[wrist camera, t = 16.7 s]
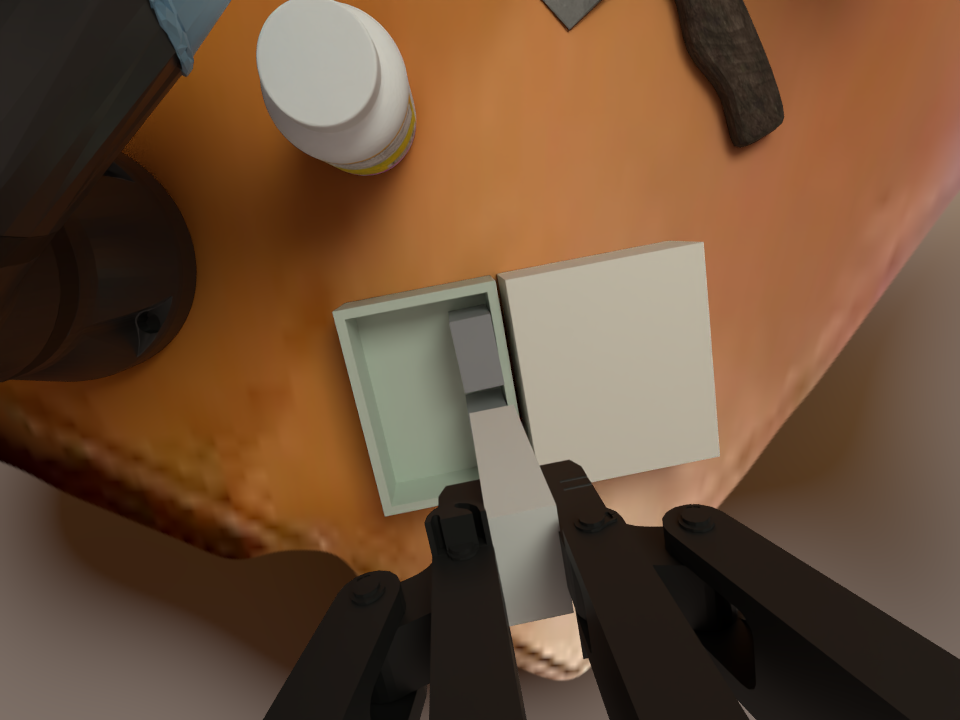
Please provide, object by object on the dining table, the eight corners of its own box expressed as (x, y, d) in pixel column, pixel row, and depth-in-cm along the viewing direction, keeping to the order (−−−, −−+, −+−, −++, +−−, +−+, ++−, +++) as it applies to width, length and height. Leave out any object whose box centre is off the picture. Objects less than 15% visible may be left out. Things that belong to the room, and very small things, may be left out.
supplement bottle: (298, 69, 32) (207, -28, 19) (407, 55, 32) (385, -50, 20) (322, 184, 33) (252, 163, 21) (424, 170, 34) (415, 140, 21)
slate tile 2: (497, 366, 36) (462, 374, 36) (484, 303, 35) (448, 311, 35) (504, 384, 32) (465, 393, 32) (490, 313, 31) (448, 322, 31)
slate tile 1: (510, 446, 38) (476, 452, 38) (500, 387, 37) (465, 394, 37) (519, 473, 34) (481, 481, 34) (507, 408, 32) (468, 416, 32)
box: (390, 488, 39) (384, 516, 35) (344, 303, 35) (332, 311, 31) (522, 461, 39) (531, 486, 35) (489, 275, 36) (495, 280, 32)
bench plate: (529, 460, 39) (541, 492, 34) (496, 273, 36) (505, 280, 31) (685, 428, 39) (719, 456, 34) (668, 240, 36) (703, 241, 31)
